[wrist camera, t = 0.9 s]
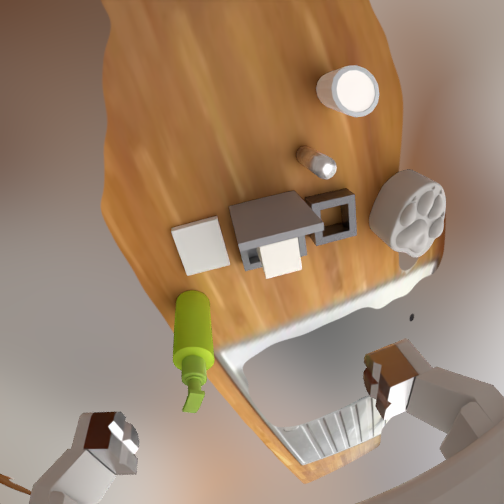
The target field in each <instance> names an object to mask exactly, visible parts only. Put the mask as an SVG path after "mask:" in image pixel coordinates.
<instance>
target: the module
mask: <svg viewBox="0 0 504 504" xmlns="http://www.w3.org/2000/svg"><path fill="white" fill-rule="evenodd" d="M256 251H257V254H258V256H259V259H260V262H261V265H262V268H263V271H264V273H265V276H266V279H268V278H272V277H276V276H279V275H283V274H287V273H290V272H294V271H298V270H302V265H301V258H300V250H299V243H298V237H296V238H292V239H288V240H284V241H280V242H276V243H272V244H268V245H264V246H260V247H257V248H256Z"/></svg>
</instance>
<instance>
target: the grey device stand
mask: <svg viewBox="0 0 504 504" xmlns="http://www.w3.org/2000/svg"><path fill="white" fill-rule="evenodd" d="M229 210H230V214H231V218H232V222H233V226H234V230H235V234H236V238H237V242H238V246H239V250H240V253H241V257H242V261H243V265H244V269H245V271H248V270H252V269H256V268H260V267H262V265H261V262H260V259H259V256H258V254H257V251H256V248H257V247H260V246H264V245H268V244H272V243H276V242H280V241H284V240H288V239H292V238H296V237H298V243H299V250H300V257H302V256H305V255H307V250H306V242H305V235H307V234H311V233H315V232H319V231H323V230H324V223H323V221H322V220H321V219H320V218H319V217H318V216H317V215H316V214H315V213H314V211H313V210H312V209H311V208H310V207H309V206H308V205H307V204H306V203H305V202H304V200H303V199H302V198H301V197H300V196H299V195H298V194H297V193H296V192H295V191H290V192H285V193H281V194H277V195H272V196H268V197H264V198H260V199H256V200H252V201H248V202H244V203H240V204H236V205H232V206H229Z"/></svg>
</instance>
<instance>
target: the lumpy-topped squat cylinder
mask: <svg viewBox="0 0 504 504" xmlns="http://www.w3.org/2000/svg"><path fill="white" fill-rule="evenodd" d="M445 208H446V199H445V194H444V190H443V188H442V187H441V185H440V184H438V183H437V182H435V181H433V180H431V179H429V178H427V177H425V176H423V175H421V174H419V173H417V172H415V171H413V170H410V169H409V170H408V169H407V170H403V171H400V172H398V173H396V174H395V175H394V176H392V177H391V178H390V179H389V180H388V181H387V182H386V183H385V184H384V185H383V186H382V188H381V190H380V192H379V194H378V196H377V198H376V200H375V202H374V205H373V208H372V210H371V213H370V217H369V226H370V229H371V230H372V231H373V232H374V233H375V234H376V235H377V236H378V237H380V238H381V239H382V240H383V241H384V242H385V243H386V244H387V245H388V246H389V247H390V248H391V249H393V250H394V251H397V252H405V253H407V254H408V255H410V256H412V257H419V256H421V255H423V254H424V253H425V252H426V251H427V250H428V249H429V248H430V246H431V245H432V243H433V241H434V240H435V238H437V237H439V236H440V234H441V233H442V231H443V227H444V223H443V220H444V216H445Z"/></svg>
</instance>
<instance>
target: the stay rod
mask: <svg viewBox="0 0 504 504" xmlns="http://www.w3.org/2000/svg"><path fill="white" fill-rule="evenodd" d="M296 158H297V160H298V162H299V163H301V164H302V165H303V166H305V167H306V168H308V169H309V170H310V171H312V172H313V173H314V174H316V175H317V176H318V177H320V178H322V179H329V178H331V177H332V176H333V175H334V174H335V172H336V163H335V161H334V160H333V159H332V158H330V157H328V156H326V155H324V154H322V153H320V152H318V151H317V150H315V149H313V148H311V147H309V146H302V147H300V148H299V149H298V151H297V153H296Z"/></svg>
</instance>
